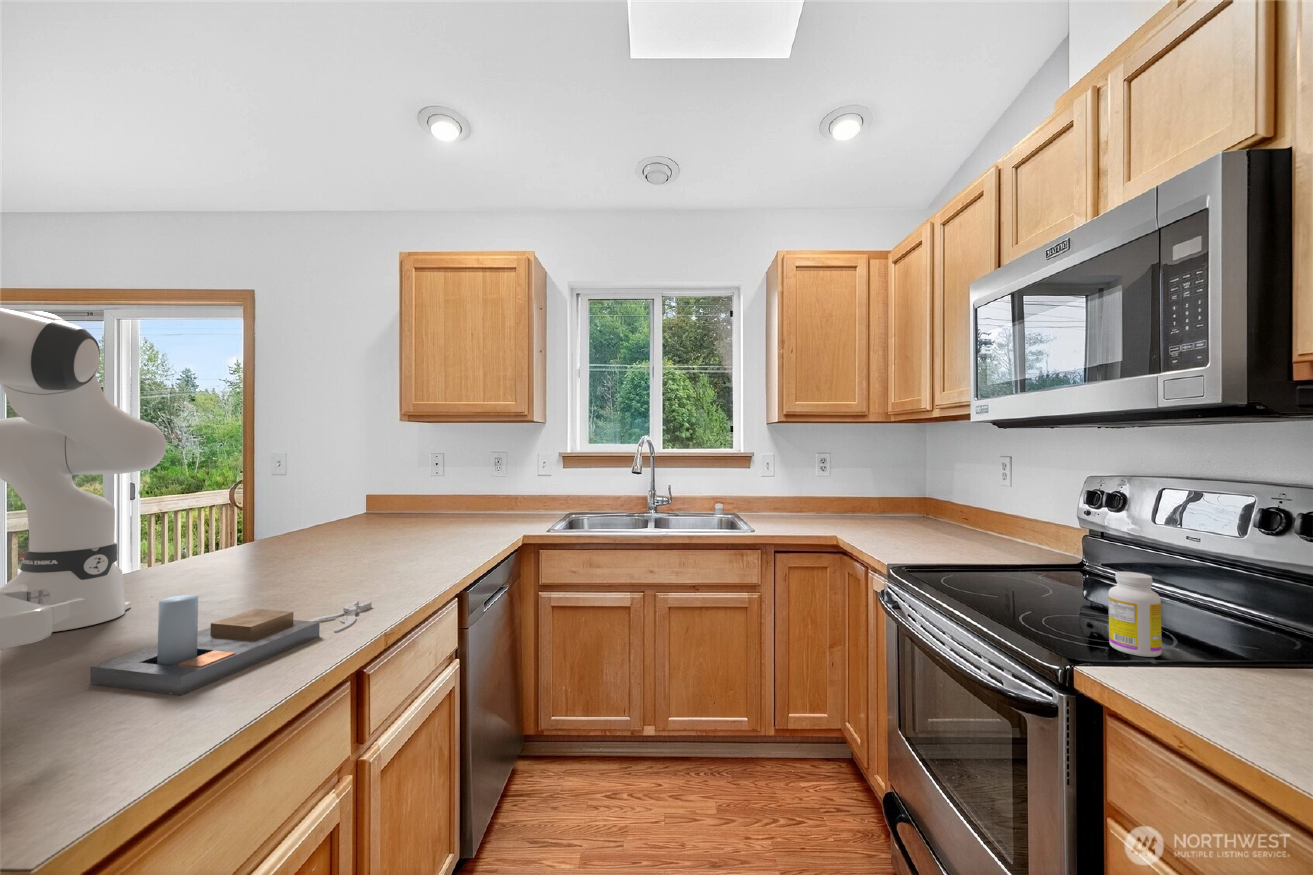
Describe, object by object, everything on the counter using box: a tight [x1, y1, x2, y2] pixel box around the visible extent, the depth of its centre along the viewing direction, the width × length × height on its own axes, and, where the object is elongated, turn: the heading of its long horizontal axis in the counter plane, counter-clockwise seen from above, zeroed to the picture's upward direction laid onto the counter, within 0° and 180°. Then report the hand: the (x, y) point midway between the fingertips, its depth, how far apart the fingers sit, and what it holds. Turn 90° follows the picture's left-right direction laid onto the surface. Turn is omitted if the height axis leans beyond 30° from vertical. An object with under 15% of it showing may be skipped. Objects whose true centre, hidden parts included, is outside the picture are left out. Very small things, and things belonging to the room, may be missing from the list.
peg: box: [157, 594, 199, 666], centre depth 80 cm, size 4×4×11 cm
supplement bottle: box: [1107, 571, 1163, 658], centre depth 90 cm, size 7×7×13 cm
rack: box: [89, 608, 321, 696], centre depth 85 cm, size 16×23×4 cm
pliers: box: [306, 600, 373, 634], centre depth 105 cm, size 10×2×15 cm
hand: (66, 599), depth 69 cm, fingers open, 8 cm apart
